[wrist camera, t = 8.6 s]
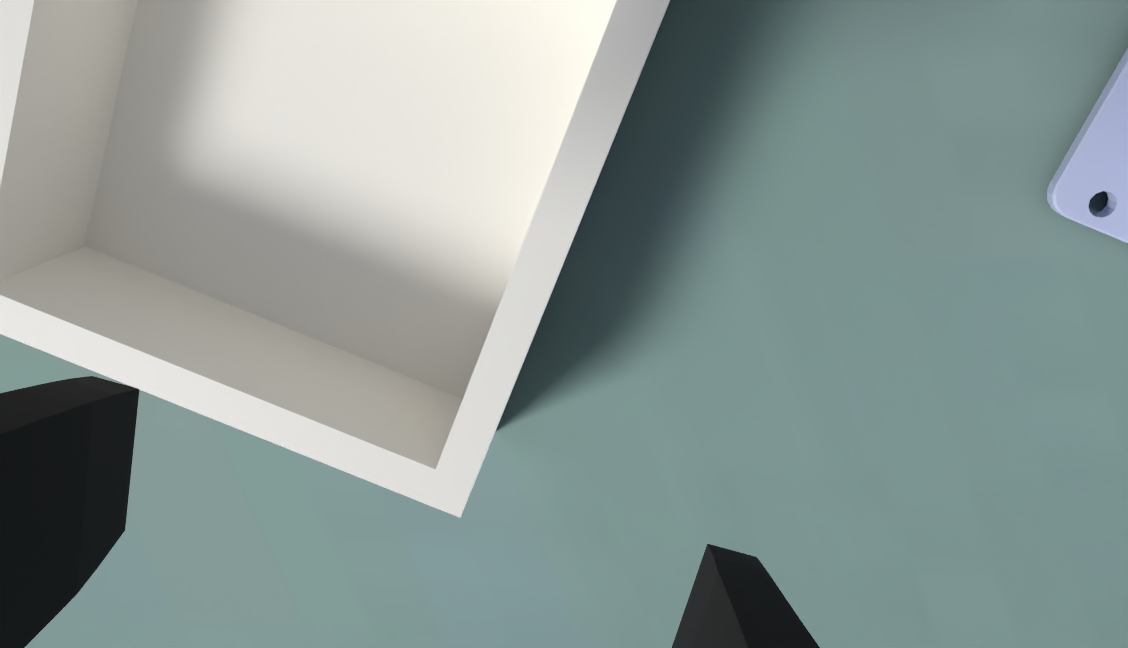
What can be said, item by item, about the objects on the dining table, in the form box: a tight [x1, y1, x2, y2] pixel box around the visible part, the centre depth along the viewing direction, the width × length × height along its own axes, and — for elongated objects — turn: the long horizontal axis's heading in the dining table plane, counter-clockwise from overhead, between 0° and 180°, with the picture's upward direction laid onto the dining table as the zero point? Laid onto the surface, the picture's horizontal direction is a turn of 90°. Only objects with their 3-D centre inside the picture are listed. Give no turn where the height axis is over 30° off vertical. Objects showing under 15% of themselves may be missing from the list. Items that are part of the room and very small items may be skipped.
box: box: [0, 0, 670, 517], centre depth 19 cm, size 11×11×4 cm
